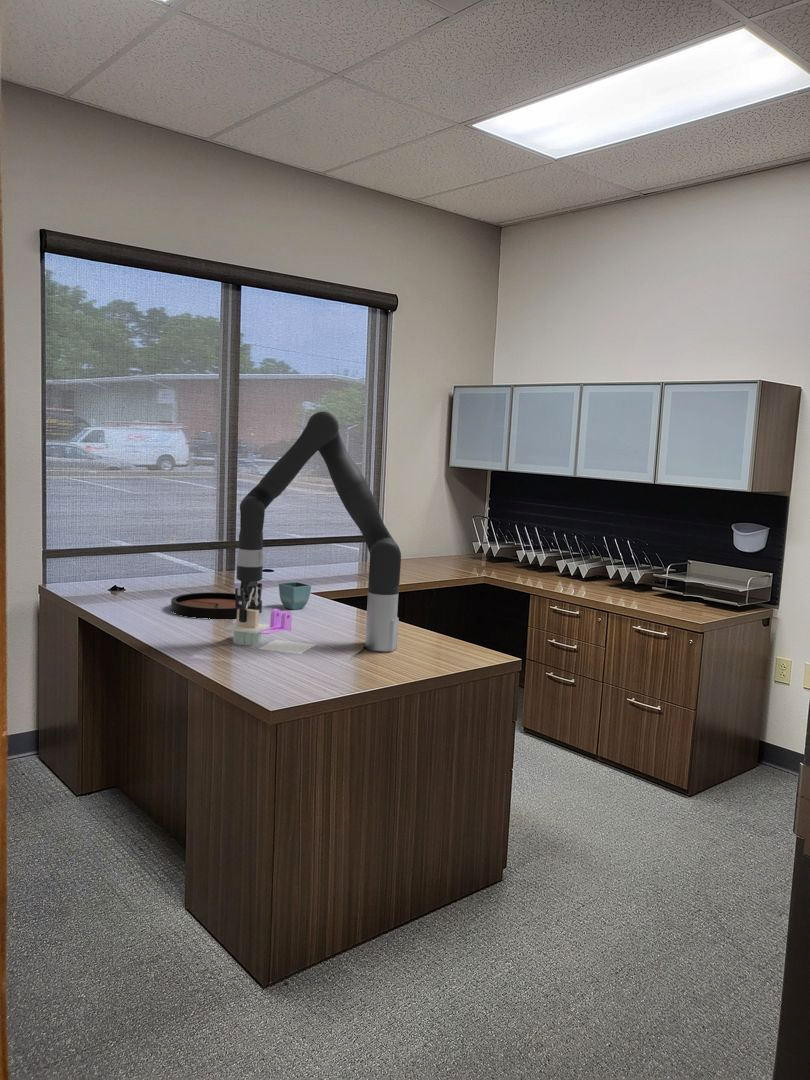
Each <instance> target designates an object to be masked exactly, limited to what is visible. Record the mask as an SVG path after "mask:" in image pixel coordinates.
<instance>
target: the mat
mask: <svg viewBox="0 0 810 1080" xmlns="http://www.w3.org/2000/svg"><path fill="white" fill-rule="evenodd" d="M314 646H317V644H316V643H315V644H314V643H309V642H308V643H307V642H298V641H292V640H291V641H289V640H283V639H282V640H281V639H274V640H272V641H270V642H269V643H268V642H267V644H264V645H262V646H261V647H258V648H257V649H258V650H263V651H272V652H281V653H288V654H295V655H301V654H303V653H304V652H306V651H308V650H310V649H311V648H313V647H314Z"/></svg>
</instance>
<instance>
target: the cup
mask: <svg viewBox="0 0 810 1080" xmlns="http://www.w3.org/2000/svg"><path fill="white" fill-rule="evenodd" d="M232 632H233V633H232V635H233V636H232V642H233V644H236V645H241V646H253V645H259V644H261V642H262V634H261V631H260V632H258V633H256V634H255V633H247V632H239V631H232Z"/></svg>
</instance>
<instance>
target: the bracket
mask: <svg viewBox="0 0 810 1080" xmlns="http://www.w3.org/2000/svg"><path fill="white" fill-rule="evenodd" d="M292 616H293V615H292V612H291V611H289V610H283V612H282V611H281V609H279V608H273V609H272V610H271V613H270V623H269V625H270V627H269V628H267V629H265V630H263V631H261V635H270V634H274V633H279V632H283V631H288V632H292V619H293V618H292Z"/></svg>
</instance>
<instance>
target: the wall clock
mask: <svg viewBox="0 0 810 1080" xmlns="http://www.w3.org/2000/svg"><path fill="white" fill-rule="evenodd" d="M170 600H171V601H170V612H171V611H172V612H171V613H173V612H174V613H176V614H175V615H177V614H178V615H177V616H180V615H182V616H181V617H184V616H187V617H186V618H189V617H196V618H195V619H197V618H208V619H207V620H210V619H229V620H237V609H238V608H236V605H235V592H234V593H233V592H219V591H218V592H213V591H211V592H207V591H206V592H191V593H185V594H179V595H176V596H173V597H172V598H171V599H170ZM245 603H246V602H245ZM249 606H250V605H249V604H248V608H247V609H249ZM256 610H259V613H262V611H263V600H262V599H261V601H260V603H258V606H257V608H256ZM174 613H173V614H174ZM209 618H210V619H209Z"/></svg>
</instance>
